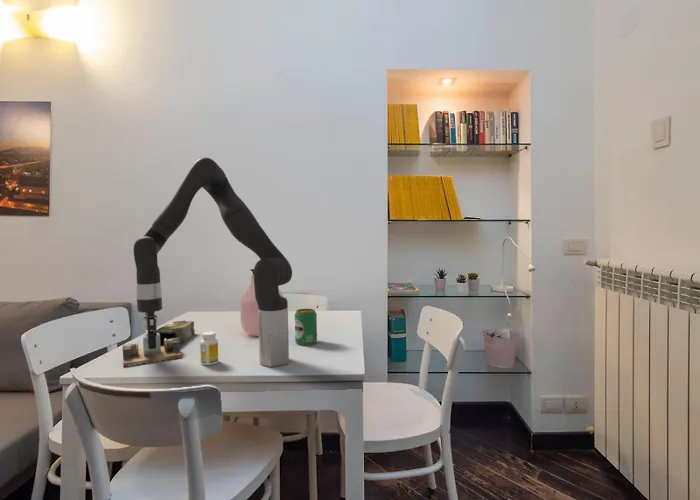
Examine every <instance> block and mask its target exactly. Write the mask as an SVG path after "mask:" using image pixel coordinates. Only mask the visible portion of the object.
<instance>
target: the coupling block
mask: <svg viewBox="0 0 700 500" xmlns="http://www.w3.org/2000/svg"><path fill="white" fill-rule="evenodd" d="M156 334H157V336H156V348H155V349H149V347H148V337H147V335H148V334H147V333H145V334H142V349H143V353H144V356H147V355H153V354H160V353H161V346H162V345H161V342H160V334H159V333H156Z"/></svg>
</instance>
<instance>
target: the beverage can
mask: <svg viewBox="0 0 700 500" xmlns="http://www.w3.org/2000/svg"><path fill="white" fill-rule="evenodd" d="M315 310H316V309H313V308H298V309H296V310H295V313H294V333H295V334H294V339H295V341H294V342H296V344H297V345H298V346H312V345H315V344H316V343H317V341H318V327H317V326H318V325H317V323H318V322H317V321H318V319H317V312H316V311H315Z"/></svg>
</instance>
